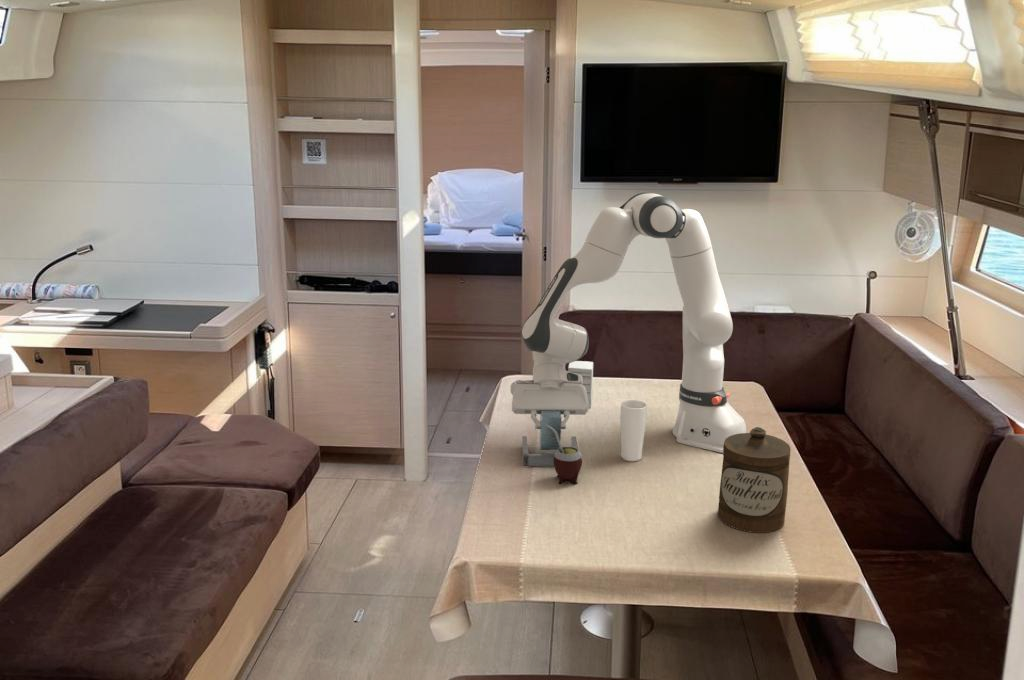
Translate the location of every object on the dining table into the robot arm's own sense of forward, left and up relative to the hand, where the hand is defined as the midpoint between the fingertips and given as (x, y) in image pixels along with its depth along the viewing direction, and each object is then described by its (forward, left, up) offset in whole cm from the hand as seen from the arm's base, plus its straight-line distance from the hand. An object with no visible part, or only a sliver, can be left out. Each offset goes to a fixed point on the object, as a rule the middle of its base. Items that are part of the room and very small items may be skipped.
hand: (550, 428), depth 248 cm
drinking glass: (-16, -15, -8) cm, 23 cm away
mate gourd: (-13, +8, -8) cm, 17 cm away
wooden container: (-56, -7, -8) cm, 57 cm away
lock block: (0, 0, -5) cm, 5 cm away
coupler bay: (0, -1, -8) cm, 8 cm away
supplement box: (+20, -37, -8) cm, 43 cm away
